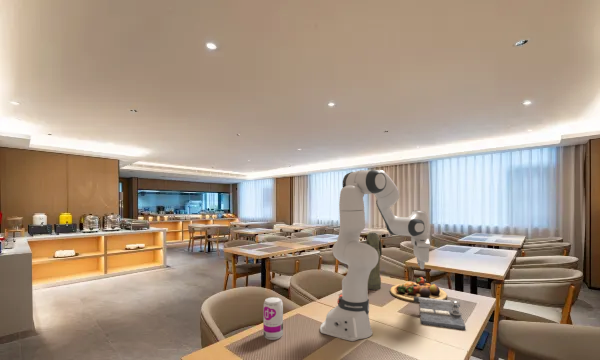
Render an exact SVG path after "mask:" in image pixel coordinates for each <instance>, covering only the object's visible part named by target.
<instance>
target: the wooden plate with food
mask: <svg viewBox="0 0 600 360" xmlns="http://www.w3.org/2000/svg"><path fill="white" fill-rule="evenodd" d="M389 292H390V294H391V296H393V297H394V298H396V299H398V300H401V301H404V302H409V303H414V304H420V302H414V296H415V297H422V298H431V299H440V300H448V294H447V292H445V291H444V290H443V289H441V288H439V286H438V285H437V284H435V283H433V284H431V283H427V282H425V279H424V278H423V277H422V276H419V277H418V278H416V279H415V282H413V281H406V282H405V283H399V284H395V285H393V286H391V288H390V289H389Z"/></svg>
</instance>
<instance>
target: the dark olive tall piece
mask: <svg viewBox="0 0 600 360" xmlns="http://www.w3.org/2000/svg"><path fill="white" fill-rule="evenodd" d="M363 243H365V244H368V245H370V246H371V247H373V248H375V249H376V251H377V252H378V257H379V259H378V263H377V265H376V266H375V267H374V268H373V269H372V270H371V272H370V275H369V278H368V290H373V291H378V290H381V289H382V287H381V285H382V277H381V274H380V273H381V270H380V269H381V267H380V265H381V264H380V262H381V257H382V255H383V251H382V247H383V245H382V244H383V243H382V241H381V240H380V237H379V234H378V233H377V232H369V233H367V236H366V240H365V241H364V242H363Z"/></svg>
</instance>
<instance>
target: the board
mask: <svg viewBox="0 0 600 360" xmlns="http://www.w3.org/2000/svg"><path fill="white" fill-rule="evenodd" d="M419 312H420V314H419V315H420V323H421V325H425V326H433V327H440V328H447V329H448V328H449V329H454V330H455V329H456V330H461V331H466V325H465V322H464V320H463V317H462V315H463V313H462V312H461V311H460V307H454V306H450V305H442V304H433V303H424V302H420V303H419Z"/></svg>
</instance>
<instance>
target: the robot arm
mask: <svg viewBox="0 0 600 360" xmlns="http://www.w3.org/2000/svg"><path fill="white" fill-rule="evenodd" d="M371 194H373V195H374V197H375V198H376V203H375V204H376V206H377V210H378V211H379V213H380V215H381V217H382V219H383V222H384V224H385V227H386V230H387V232H388V233H389V234H390V235H392V236H403V237H411V238H410V240H411V241H410V243H411V245H413V256H415V258H416V262H417V266H418V267H419V268H420V270H424V269H425V263H428V262H429V259H430V247H431V243H430V235H429V225H430V224H429V217H428V213H427V212H426V211H423V210H413V211H412V210H411V214H410V215H409V216H406V217H405V216H397V215H395V214H394V213H393V211H392V209H391V207H393V206H394V205H396V203H397V202H398V201H399V199H400V196H401V194H400V191H399V189H398V186H397V185H396V184H395V182H394V181H393V179H392V178H391V177H390V175H388V174H387V172H386V171H384V170H382V169H369V170H366V169H365V170H364V169H361V170H355V171H350V172H348V173H347V174H345V175H344V177H343V180H342V188H341V190H340V193H339V201H338V202H339V203H338V204H339V205H338V206H339V209H338V210H339V211H338V212H339V233H338V237H337V240H336V242H334V244H333V246H332V255H333V257H334V258H335V259H336V260H338V261H339V262H340V263H342V264H344V265H347V267H348V268H347V273H346V275H345V276H344V277H343V278H342V280H341V288H342V289H341V290H342V291H341V293H342V294H340V295H339V296H338V299H337V305H336V306H335V307H334V308H332V309H331V310H329V311H328V312H327V314H326V316H325V320H324V321H323V322H322V323H321V324H320V326H319V327H320V328H319V331H320V333H321V334H324V335H328V336H331V337H334V338H338V339H342V340H345V341H349V342H356V341H358V340H362V339H363V340H364V339H367V338H369V337H371V336H372V335H373V330H372V325H371V322H370V314H369V312H370V300H369V296H368V294H369V293H368V290H369V289H368V278H369V275H370V272H371V270H372V269H373V268H374V267H375V266H376V265H377V263H378V259H379V257H378V252H377V251H376V249H375V248H373V247H371V246H370V245H368V244H365V243H364V242H360V237H361V233H362V231H364V230H365V228H366V213H365V201H364V196H365V195H371Z"/></svg>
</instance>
